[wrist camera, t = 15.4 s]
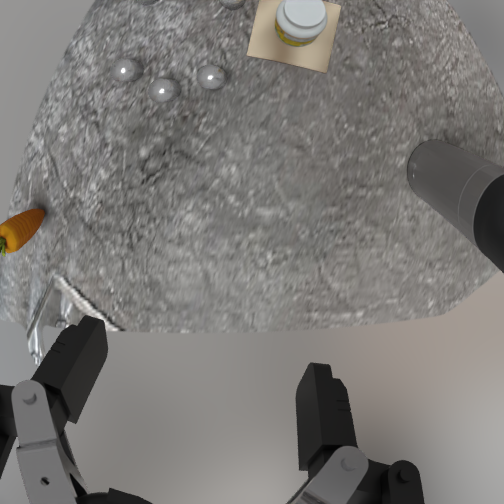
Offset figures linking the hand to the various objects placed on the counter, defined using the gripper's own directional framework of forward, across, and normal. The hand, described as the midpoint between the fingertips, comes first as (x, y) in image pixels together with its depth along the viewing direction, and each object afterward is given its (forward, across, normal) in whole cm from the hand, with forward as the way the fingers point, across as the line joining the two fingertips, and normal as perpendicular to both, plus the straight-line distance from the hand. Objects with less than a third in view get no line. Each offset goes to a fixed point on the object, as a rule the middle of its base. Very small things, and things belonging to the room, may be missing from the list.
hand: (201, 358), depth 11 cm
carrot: (+33, +33, +13) cm, 49 cm away
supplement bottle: (+33, -2, -19) cm, 38 cm away
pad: (+33, -2, -19) cm, 38 cm away
